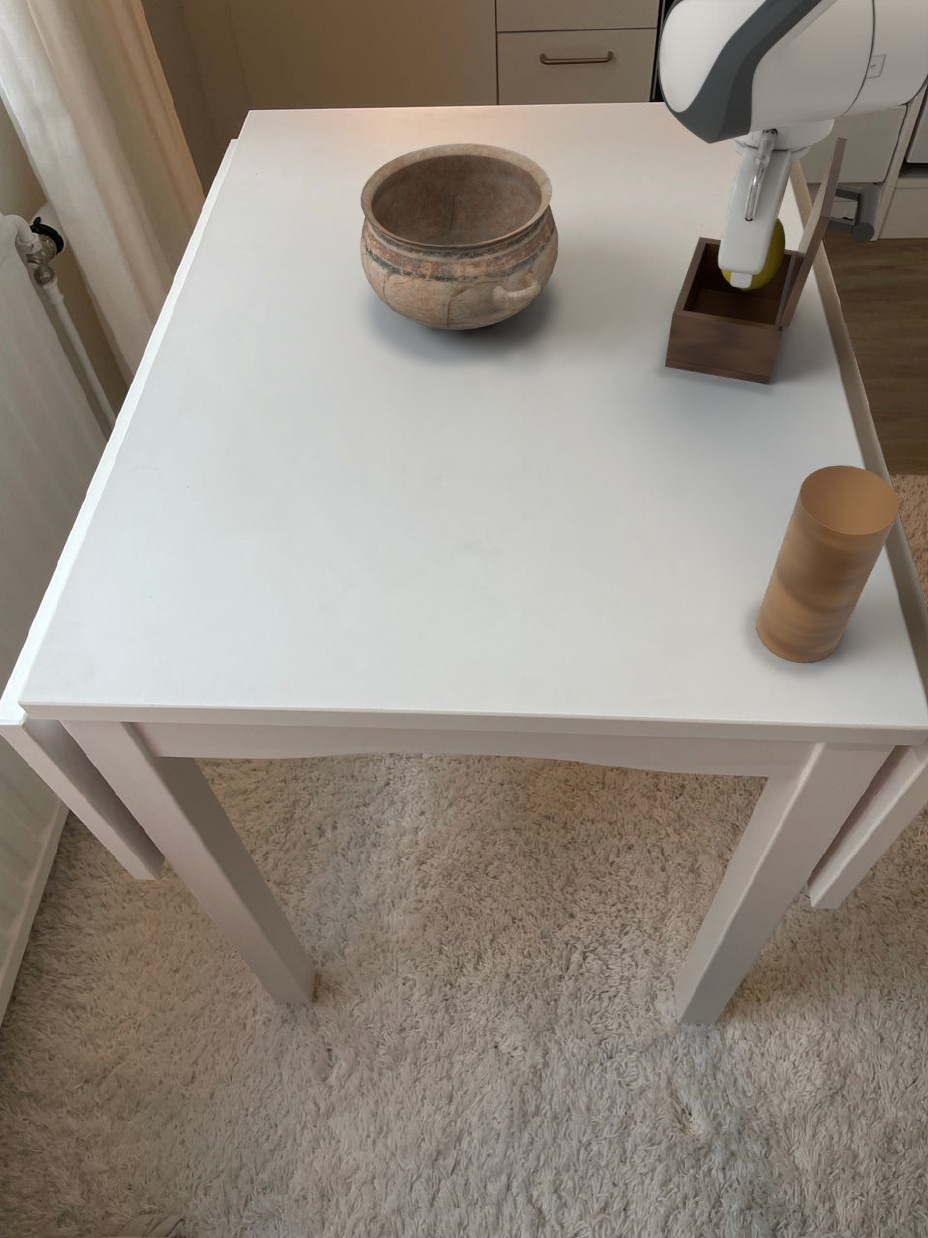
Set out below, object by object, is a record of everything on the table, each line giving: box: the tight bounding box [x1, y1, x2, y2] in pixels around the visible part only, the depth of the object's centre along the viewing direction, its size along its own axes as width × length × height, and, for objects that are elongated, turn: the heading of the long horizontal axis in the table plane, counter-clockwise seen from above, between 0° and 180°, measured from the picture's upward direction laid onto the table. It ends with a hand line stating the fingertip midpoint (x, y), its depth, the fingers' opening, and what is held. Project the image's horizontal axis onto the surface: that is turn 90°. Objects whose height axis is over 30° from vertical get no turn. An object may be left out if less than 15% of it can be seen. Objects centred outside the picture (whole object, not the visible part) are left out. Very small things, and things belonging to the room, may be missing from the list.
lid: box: [779, 136, 882, 329], centre depth 81 cm, size 10×13×5 cm
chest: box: [664, 236, 798, 385], centre depth 90 cm, size 10×13×6 cm
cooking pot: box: [359, 143, 559, 331], centre depth 92 cm, size 25×19×12 cm
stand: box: [755, 464, 900, 664], centre depth 65 cm, size 6×6×14 cm
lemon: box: [721, 217, 786, 291], centre depth 85 cm, size 6×6×8 cm
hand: (747, 260), depth 85 cm, fingers closed on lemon, 5 cm apart
